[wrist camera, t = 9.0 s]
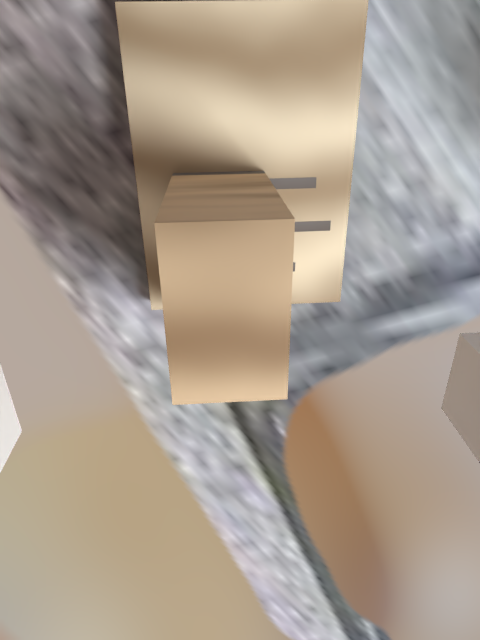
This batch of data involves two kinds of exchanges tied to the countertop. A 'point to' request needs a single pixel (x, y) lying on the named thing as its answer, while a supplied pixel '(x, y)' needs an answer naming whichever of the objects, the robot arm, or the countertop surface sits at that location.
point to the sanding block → (225, 286)
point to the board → (249, 112)
